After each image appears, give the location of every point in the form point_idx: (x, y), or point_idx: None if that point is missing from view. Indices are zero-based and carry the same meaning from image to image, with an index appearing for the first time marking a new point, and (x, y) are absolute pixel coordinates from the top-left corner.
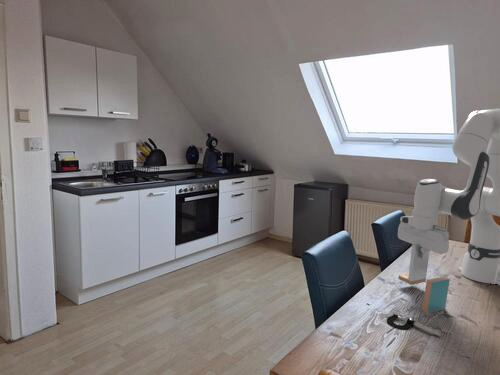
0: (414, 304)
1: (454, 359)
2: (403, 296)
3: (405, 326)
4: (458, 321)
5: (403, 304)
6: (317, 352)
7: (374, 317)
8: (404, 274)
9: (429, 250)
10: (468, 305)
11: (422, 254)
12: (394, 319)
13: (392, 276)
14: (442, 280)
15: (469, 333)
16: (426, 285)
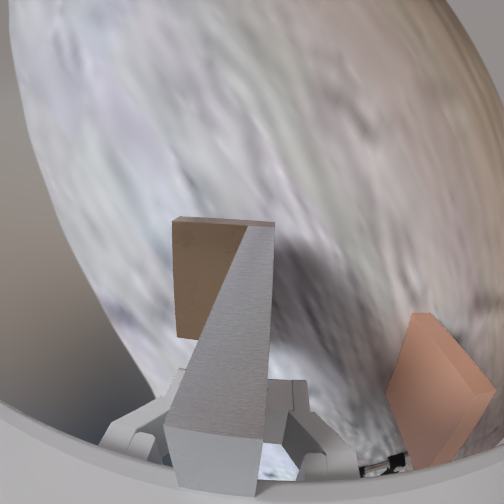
0: (349, 387)
1: (479, 449)
2: (286, 374)
3: (391, 472)
4: (477, 345)
5: (327, 415)
6: None
7: None
8: (178, 301)
9: (351, 468)
10: (466, 188)
11: (285, 446)
12: (362, 477)
13: (104, 238)
14: (470, 431)
15: (500, 368)
16: (413, 462)
